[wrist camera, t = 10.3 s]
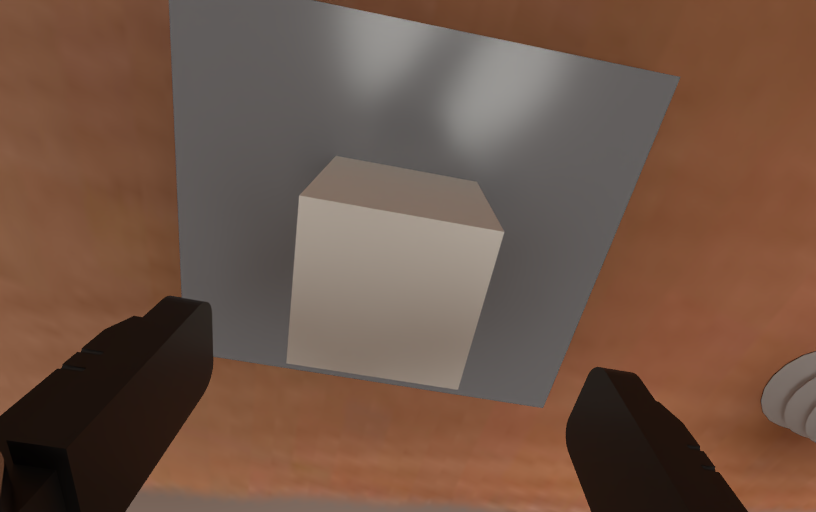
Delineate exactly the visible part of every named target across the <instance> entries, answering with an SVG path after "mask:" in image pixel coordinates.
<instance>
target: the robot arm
mask: <svg viewBox="0 0 816 512" xmlns="http://www.w3.org/2000/svg"><path fill="white" fill-rule="evenodd" d="M212 370H213V325H212V308H211V305H210V303H208V302H205V301H199V300H193V299H187V298H180V297H174V296H167V297H165V298H164V299H162V300H161V301H160V302H159V303H158V304H157V305H156V306H155V307H154V308H152V309H151V310H150V311H149V312H148V313H147V314H146V315H145V316H144V317H137V316H133V317H131V318H128V319H126V320H124V321H122V322H120V323H118V324H115V325H113V326H111V327H109V328H107V329H105V330H103V331H102V332H101V333H100V334H99V335H97V336H96V337H95V338H94V339H92V340H91V341H90V342H89V343H88V344H86V345H85V346H84V347H83V348H82V351H81V352H77V353H76V354H74V355H73V356H72V357H71V358H70V359H68V360H67V361H66V362H65V363H64V364H63V365H62V368H61V369H56V370H55V371H54V372H53V373H51V374H50V375H49V376H48V377H47V378H45V379H44V380H43V381H42V382H41V383H39V384H38V385H37V386H36V387H35V388H33V389H32V390H31V391H30V392H29V393H27V394H26V395H25V396H24V397H23V398H21V399H20V400H19V401H18V402H16V403H15V404H14V405H13V406H12V407H10V408H9V409H8V410H7V411H6V412H4V413H3V414H2V415H1V416H0V512H125V511H126V510H127V508H128V507H129V505H130V504H131V502H132V501H133V499H134V498H135V496H136V495H137V493H138V492H139V490H140V489H141V487H142V486H143V484H144V483H145V481H146V480H147V478H148V477H149V475H150V474H151V472H152V471H153V469H154V468H155V466H156V465H157V463H158V462H159V460H160V459H161V457H162V456H163V454H164V453H165V451H166V450H167V448H168V447H169V445H170V444H171V442H172V441H173V439H174V438H175V436H176V435H177V433H178V432H179V430H180V429H181V427H182V426H183V424H184V423H185V421H186V420H187V418H188V417H189V415H190V414H191V412H192V411H193V409H194V408H195V406H196V405H197V403H198V402H199V400H200V399H201V397H202V396H203V394H204V392H205V390H206V389H207V386H208V384H209V381H210V378H211V374H212ZM566 444H567V449H568V452H569V455H570V457H571V460H572V463H573V465H574V468H575V470H576V473H577V476H578V478H579V481H580V484H581V486H582V489H583V491H584V494H585V497H586V499H587V502H588V504H589V507H590V510H591V512H748V511H747V510H746V508H745V507H744V506H743V504H742V503H741V502H740V500H739V499H738V497H737V496H736V495H735V493H734V492H733V491H732V489H731V488H730V487H729V485H728V484H727V483H726V481H725V480H724V478H723V477H722V476H721V474H720V473H719V472H715V466H714V465H713V463H712V462H711V461H710V459H709V458H708V457H707V455H706V454H705V453H704V451H700V446H699V444H698V443H697V442H696V440H695V439H694V438H693V436H692V435H691V433H690V432H689V431H688V429H687V428H686V427H685V425H684V424H683V423H682V422H681V421H680V420H679V419H678V418H677V417H675V416H674V415H673V414H672V413H671V412H670V411H669V410H667V409H666V408H665V407H664V406H663V405H662V404H661V403H660V402H657V401H655V399H654V398H653V396H652V395H651V394H650V392H649V391H648V389H647V388H646V386H645V385H644V384H643V382H642V381H641V379H640V378H639V377H638V376H637V375H636V374H634V373H632V372H625V371H619V370H613V369H607V368H601V367H595V368H593V369H592V370H591V371H590V373H589V375H588V377H587V379H586V381H585V383H584V386H583V388H582V390H581V392H580V394H579V397H578V399H577V401H576V403H575V406H574V408H573V410H572V412H571V414H570V417H569V419H568V422H567V427H566Z"/></svg>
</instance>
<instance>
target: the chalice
mask: <svg viewBox="0 0 816 512" xmlns="http://www.w3.org/2000/svg"><path fill="white" fill-rule="evenodd" d="M761 404H762V410H763V413H764V414H765V415H766V416H767V418H768V419H769V420H770V421H772V422H774V423H776V424H778V425H779V426H782V427H785V428H789V429H790V430H791V431H793V432H795V433H797V434H799V435H801V436H804V437H807V438H810V439H811V440H812V441H814V442H816V352H813V353H810V354H807V355H803V356H801V357H800V358H798V359H796V360H794V361H792V362H791V363H789V364H787V365H786V366H784V367H783V368H782V369H781V370H780V371H779V372H777V373H776V374H775V375H774V376H773V377H772V379H771V380H770V381H769V383H768V384H767V386H766V387H765V389H764V392H763V396H762V399H761Z"/></svg>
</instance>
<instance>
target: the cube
mask: <svg viewBox="0 0 816 512" xmlns="http://www.w3.org/2000/svg"><path fill="white" fill-rule="evenodd" d="M503 235H504V230H503V228H502V227H501V225H500V223H499V221H498V219H497V218H496V216H495V214H494V212H493V210H492V208H491V207H490V205H489V203H488V201H487V199H486V198H485V196H484V194H483V192H482V190H481V188H480V187H479V185H478V183H477V182H475V181H470V180H465V179H459V178H454V177H448V176H443V175H437V174H432V173H427V172H421V171H416V170H410V169H405V168H400V167H394V166H389V165H383V164H378V163H372V162H367V161H362V160H356V159H351V158H345V157H340V156H335V157H334V158H333V159H332V161H331V162H330V163H329V164H328V165H327V166H326V167H325V168H324V169H323V170H322V171H321V172H320V174H319V175H318V176H317V177H316V178H315V179H314V180H313V181H312V182H311V183H310V184H309V185H308V186H307V188H306V189H305V190H304V191H303V192H302V193H301V194H300V195H299V204H298V217H297V230H296V243H295V256H294V269H293V282H292V296H291V309H290V322H289V335H288V348H287V361H286V363H287V364H294V365H300V366H306V367H313V368H319V369H326V370H332V371H339V372H345V373H352V374H358V375H365V376H371V377H378V378H384V379H391V380H397V381H404V382H410V383H417V384H423V385H430V386H436V387H442V388H449V389H455V390H458V388H459V384H460V381H461V378H462V374H463V371H464V367H465V364H466V361H467V357H468V354H469V350H470V347H471V344H472V340H473V337H474V334H475V330H476V327H477V323H478V320H479V317H480V313H481V310H482V306H483V303H484V300H485V296H486V293H487V289H488V286H489V283H490V279H491V276H492V273H493V269H494V266H495V262H496V259H497V256H498V252H499V249H500V245H501V242H502V239H503Z"/></svg>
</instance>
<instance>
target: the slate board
mask: <svg viewBox="0 0 816 512" xmlns="http://www.w3.org/2000/svg"><path fill="white" fill-rule="evenodd" d="M169 16H170V38H171V61H172V84H173V107H174V130H175V153H176V176H177V199H178V222H179V245H180V268H181V291H182V298H187V299H193V300H199V301H205V302H208V303H210V305H211V308H212V325H213V357H219V358H225V359H232V360H238V361H245V362H251V363H258V364H264V365H270V366H277V367H283V368H290V369H296V370H302V371H309V372H315V373H322V374H328V375H334V376H341V377H347V378H354V379H360V380H367V381H373V382H379V383H386V384H392V385H399V386H405V387H411V388H418V389H424V390H431V391H437V392H443V393H450V394H456V395H463V396H469V397H476V398H482V399H488V400H495V401H501V402H508V403H514V404H520V405H527V406H533V407H540V408H543V407H544V404H545V402H546V400H547V397H548V395H549V392H550V390H551V388H552V385H553V383H554V380H555V378H556V376H557V373H558V371H559V368H560V366H561V363H562V361H563V359H564V356H565V354H566V351H567V349H568V347H569V344H570V342H571V339H572V337H573V335H574V332H575V330H576V327H577V325H578V323H579V320H580V318H581V315H582V313H583V310H584V308H585V306H586V303H587V301H588V298H589V296H590V294H591V291H592V289H593V286H594V284H595V282H596V279H597V277H598V274H599V272H600V270H601V267H602V265H603V262H604V260H605V257H606V255H607V253H608V250H609V248H610V245H611V243H612V241H613V238H614V236H615V233H616V231H617V229H618V226H619V224H620V221H621V219H622V217H623V214H624V212H625V209H626V207H627V204H628V202H629V200H630V197H631V195H632V192H633V190H634V188H635V185H636V183H637V180H638V178H639V176H640V173H641V171H642V168H643V166H644V164H645V161H646V159H647V156H648V154H649V151H650V149H651V147H652V144H653V142H654V139H655V137H656V135H657V132H658V130H659V127H660V125H661V123H662V120H663V118H664V115H665V113H666V111H667V108H668V106H669V103H670V101H671V98H672V96H673V94H674V91H675V89H676V86H677V84H678V82H679V79H680V77H678V76H673V75H668V74H663V73H658V72H654V71H649V70H644V69H639V68H634V67H630V66H625V65H620V64H615V63H610V62H606V61H601V60H596V59H591V58H587V57H582V56H577V55H572V54H567V53H563V52H558V51H553V50H548V49H543V48H539V47H534V46H529V45H524V44H520V43H515V42H510V41H505V40H500V39H496V38H491V37H486V36H481V35H476V34H472V33H467V32H462V31H457V30H452V29H448V28H443V27H438V26H433V25H429V24H424V23H419V22H414V21H409V20H405V19H400V18H395V17H390V16H385V15H381V14H376V13H371V12H366V11H362V10H357V9H352V8H347V7H342V6H338V5H333V4H328V3H323V2H318V1H314V0H169ZM335 156H340V157H345V158H351V159H356V160H362V161H367V162H372V163H378V164H383V165H389V166H394V167H400V168H405V169H410V170H416V171H421V172H427V173H432V174H437V175H443V176H448V177H454V178H459V179H465V180H470V181H475V182H477V183H478V185H479V187H480V188H481V190H482V192H483V194H484V196H485V198H486V199H487V201H488V203H489V205H490V207H491V208H492V210H493V212H494V214H495V216H496V218H497V219H498V221H499V223H500V225H501V227H502V228H503V230H504V235H503V239H502V242H501V245H500V249H499V252H498V256H497V259H496V262H495V266H494V269H493V273H492V276H491V279H490V283H489V286H488V289H487V293H486V296H485V300H484V303H483V306H482V310H481V313H480V317H479V320H478V323H477V327H476V330H475V334H474V337H473V340H472V344H471V347H470V350H469V354H468V357H467V361H466V364H465V367H464V371H463V374H462V378H461V381H460V384H459V388H458V390H455V389H449V388H442V387H436V386H430V385H423V384H417V383H410V382H404V381H397V380H391V379H384V378H378V377H371V376H365V375H358V374H352V373H345V372H339V371H332V370H326V369H319V368H313V367H306V366H300V365H294V364H287V363H286V361H287V348H288V335H289V322H290V309H291V296H292V282H293V269H294V256H295V243H296V230H297V217H298V204H299V195H300V194H301V193H302V192H303V191H304V190H305V189H306V188H307V186H308V185H309V184H310V183H311V182H312V181H313V180H314V179H315V178H316V177H317V176H318V175H319V174H320V172H321V171H322V170H323V169H324V168H325V167H326V166H327V165H328V164H329V163H330V162H331V161H332V159H333V158H334V157H335Z"/></svg>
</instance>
